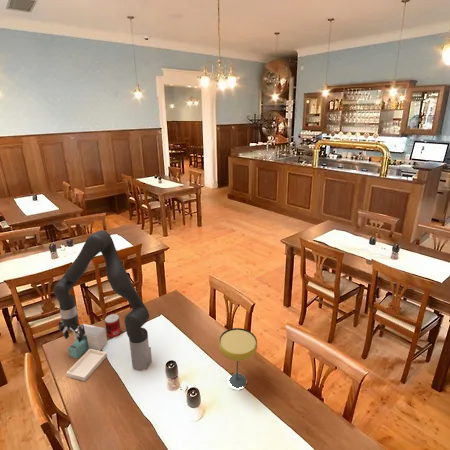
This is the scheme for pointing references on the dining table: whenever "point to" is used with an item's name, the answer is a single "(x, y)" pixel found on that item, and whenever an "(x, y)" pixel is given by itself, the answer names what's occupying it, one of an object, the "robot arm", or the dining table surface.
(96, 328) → the box
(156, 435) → the dining table surface
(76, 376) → the tray
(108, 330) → the canned food
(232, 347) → the cocktail glass
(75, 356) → the teal box
